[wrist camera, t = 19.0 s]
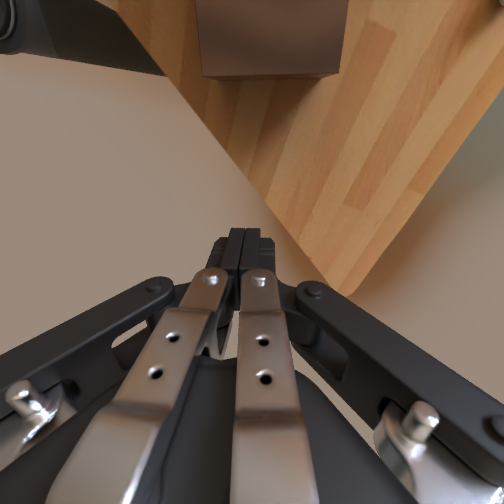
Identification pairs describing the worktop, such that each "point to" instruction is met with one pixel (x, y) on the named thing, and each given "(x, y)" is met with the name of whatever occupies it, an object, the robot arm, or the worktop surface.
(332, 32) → the lid
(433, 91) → the worktop surface
